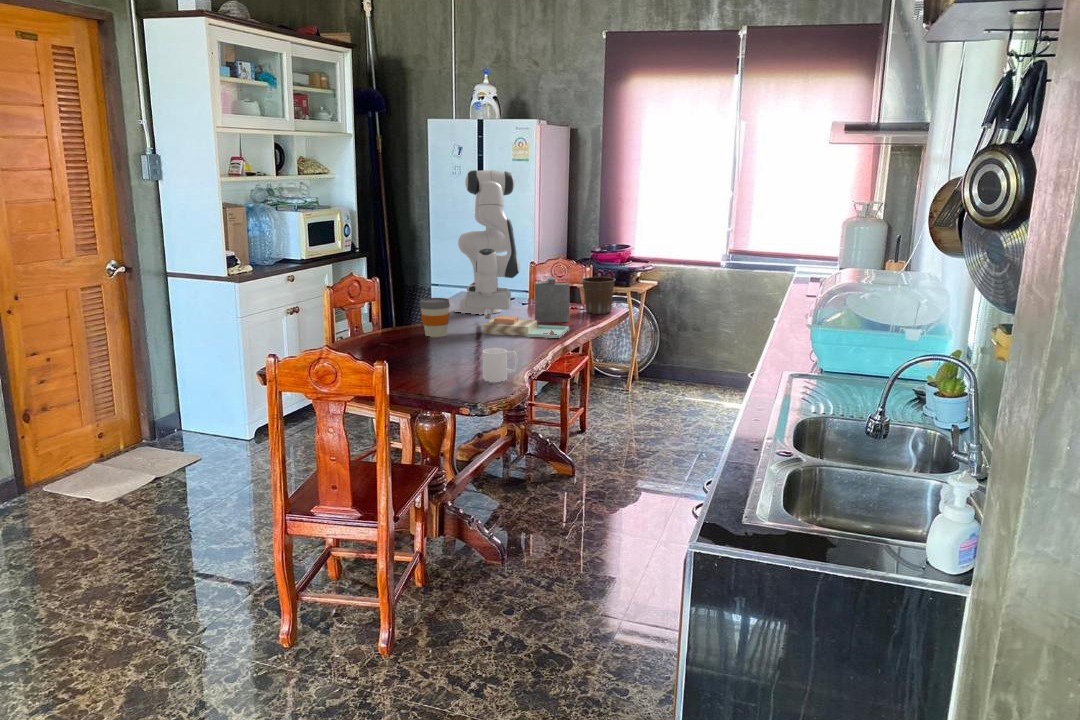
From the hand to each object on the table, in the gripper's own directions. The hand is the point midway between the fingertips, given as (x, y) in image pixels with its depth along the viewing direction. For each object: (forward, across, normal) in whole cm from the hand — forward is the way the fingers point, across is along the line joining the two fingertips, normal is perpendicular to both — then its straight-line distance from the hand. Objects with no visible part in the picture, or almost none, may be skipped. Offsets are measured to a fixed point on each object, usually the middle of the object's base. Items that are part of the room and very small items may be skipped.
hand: (488, 318), depth 355 cm
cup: (+6, -30, +73) cm, 79 cm away
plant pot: (+5, -38, -52) cm, 65 cm away
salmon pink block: (+1, -8, 0) cm, 8 cm away
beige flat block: (+5, -10, 0) cm, 11 cm away
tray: (+5, -27, 0) cm, 28 cm away
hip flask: (+5, -22, -25) cm, 34 cm away
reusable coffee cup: (+5, +19, +14) cm, 24 cm away
